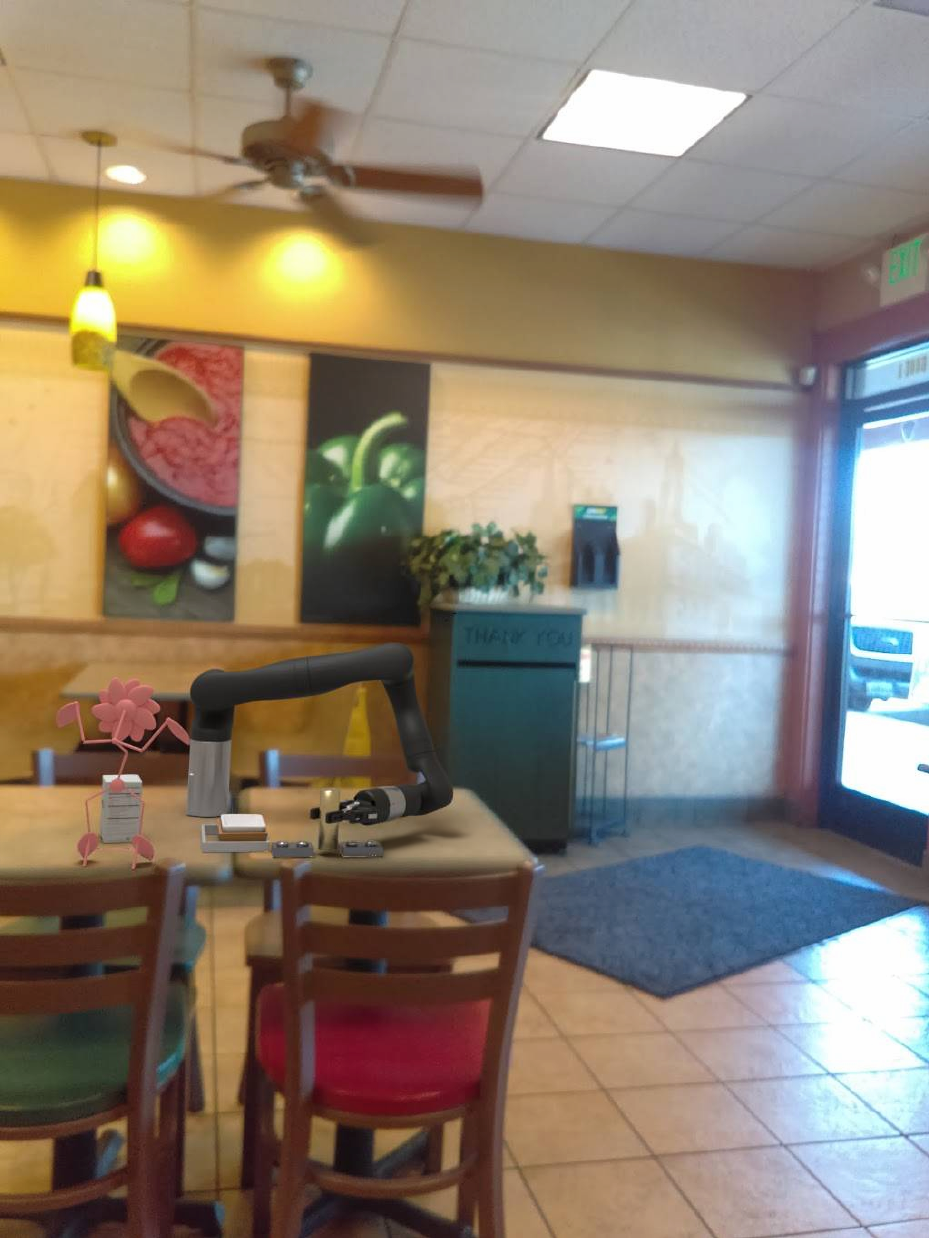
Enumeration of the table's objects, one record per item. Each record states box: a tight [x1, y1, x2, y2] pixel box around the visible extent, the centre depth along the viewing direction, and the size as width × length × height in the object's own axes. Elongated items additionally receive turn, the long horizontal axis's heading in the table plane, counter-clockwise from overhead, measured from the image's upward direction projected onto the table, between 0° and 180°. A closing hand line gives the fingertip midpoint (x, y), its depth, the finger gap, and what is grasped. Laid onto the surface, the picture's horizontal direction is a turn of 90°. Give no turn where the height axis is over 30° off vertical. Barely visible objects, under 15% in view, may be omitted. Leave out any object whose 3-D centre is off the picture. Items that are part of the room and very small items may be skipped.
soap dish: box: [217, 813, 269, 842], centre depth 221 cm, size 12×10×5 cm
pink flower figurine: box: [55, 677, 191, 870], centre depth 204 cm, size 15×26×35 cm, turn 91°
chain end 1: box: [270, 840, 315, 858], centre depth 214 cm, size 8×4×3 cm, turn 105°
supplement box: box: [99, 774, 143, 844], centre depth 219 cm, size 7×7×13 cm
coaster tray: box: [200, 823, 270, 853], centre depth 221 cm, size 13×15×2 cm
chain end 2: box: [339, 839, 383, 857], centre depth 218 cm, size 8×4×3 cm, turn 105°
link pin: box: [317, 787, 341, 852], centre depth 216 cm, size 4×4×12 cm
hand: (319, 816), depth 214 cm, fingers closed on link pin, 4 cm apart
